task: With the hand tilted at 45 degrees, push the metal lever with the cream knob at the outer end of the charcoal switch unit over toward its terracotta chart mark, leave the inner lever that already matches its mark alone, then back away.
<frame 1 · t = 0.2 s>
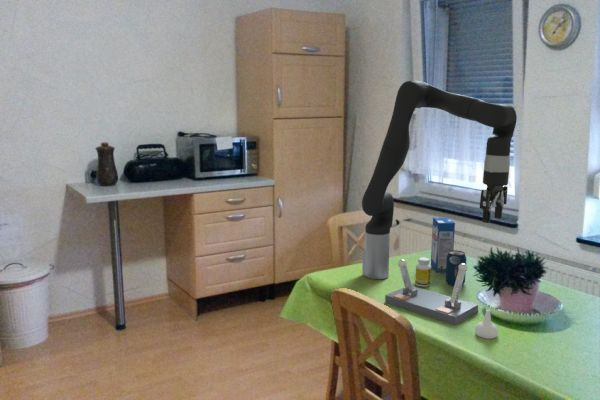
hand: (492, 220, 175), 29 cm above the table, tool pointing down, fingers open, 8 cm apart
lever inner: (405, 276, 182), point 9 cm above the table, hinge at 25.0°
lever outer: (458, 283, 175), point 9 cm above the table, hinge at -25.0°
soda can: (455, 284, 203), on the table
garlic bulb: (486, 335, 160), on the table
milk carton: (441, 269, 220), on the table
supplement bottle: (422, 285, 202), on the table
switch unit: (430, 307, 180), on the table
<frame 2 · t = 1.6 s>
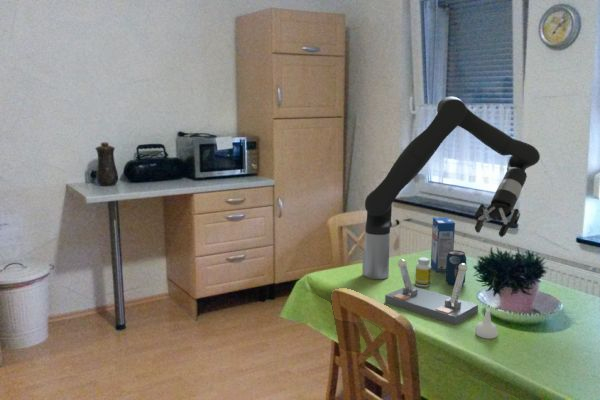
hand: (488, 233, 185), 23 cm above the table, tool tilted 45°, fingers open, 8 cm apart
nothing on the table moved.
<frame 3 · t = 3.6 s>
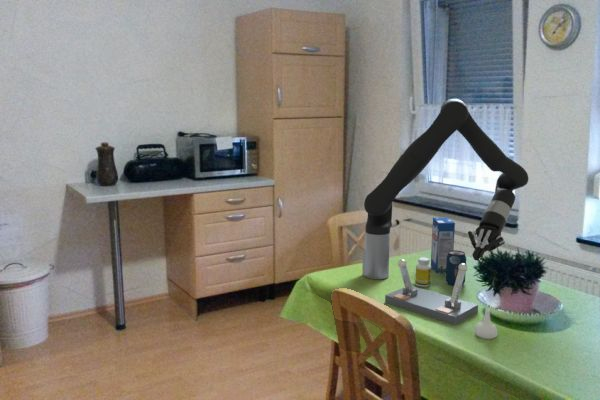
hand: (475, 259, 181), 15 cm above the table, tool tilted 45°, fingers closed
nothing on the table moved.
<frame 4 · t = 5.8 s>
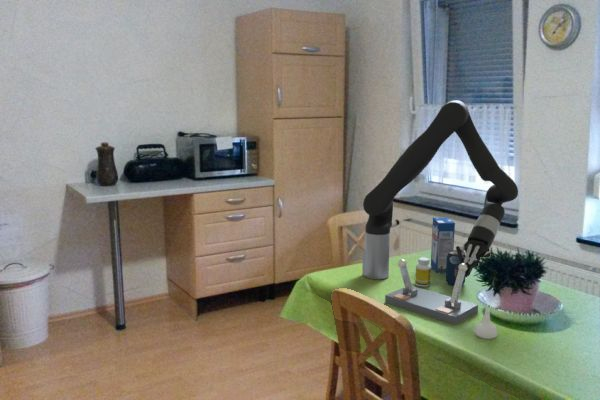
hand: (463, 275, 177), 11 cm above the table, tool tilted 45°, fingers closed
lever outer: (458, 283, 175), point 9 cm above the table, hinge at -25.0°, touching gripper
everything else where it was.
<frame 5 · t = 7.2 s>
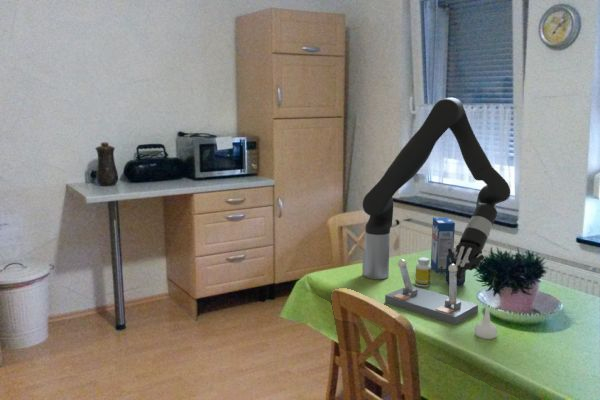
hand: (455, 278, 173), 12 cm above the table, tool tilted 45°, fingers closed
lever outer: (452, 284, 173), point 10 cm above the table, hinge at 4.9°, touching gripper
everything else where it was.
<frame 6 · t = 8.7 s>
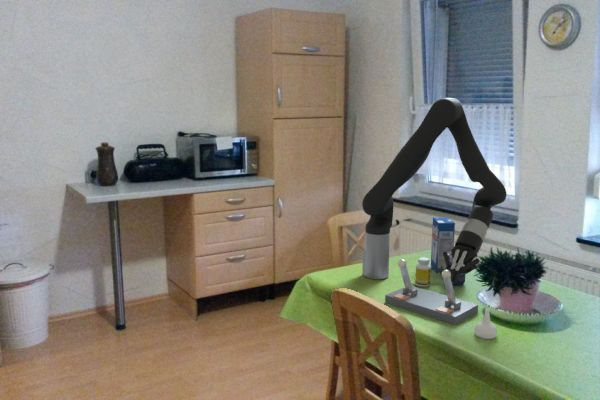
hand: (450, 282, 171), 11 cm above the table, tool tilted 45°, fingers closed
lever outer: (449, 287, 171), point 9 cm above the table, hinge at 23.5°, touching gripper
everything else where it was.
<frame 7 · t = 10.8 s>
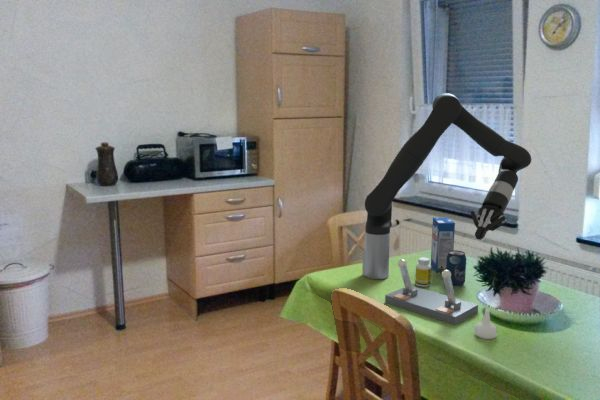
hand: (478, 238, 183), 21 cm above the table, tool tilted 45°, fingers closed
lever outer: (449, 287, 171), point 9 cm above the table, hinge at 23.6°
everything else where it was.
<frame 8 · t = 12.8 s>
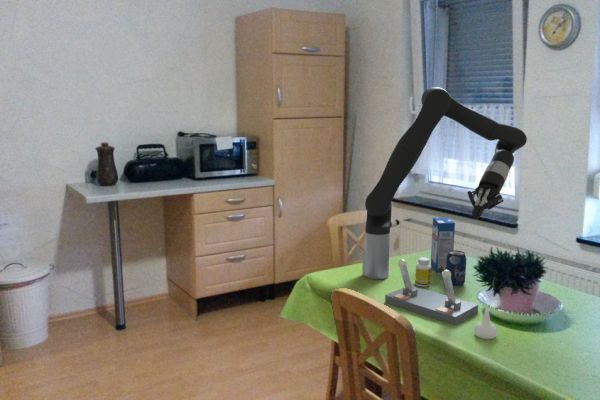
hand: (475, 216, 185), 28 cm above the table, tool tilted 45°, fingers closed
nothing on the table moved.
at the end: lever outer at +24° (first picture: -25°); lever inner at +25° (first picture: +25°) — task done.
